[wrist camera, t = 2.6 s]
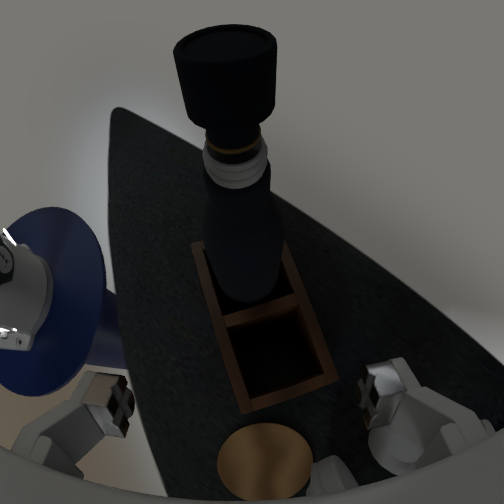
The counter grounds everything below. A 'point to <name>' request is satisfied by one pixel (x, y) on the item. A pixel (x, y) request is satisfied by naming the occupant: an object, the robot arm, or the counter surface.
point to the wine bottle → (235, 155)
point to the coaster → (265, 462)
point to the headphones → (384, 451)
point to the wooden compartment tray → (262, 314)
